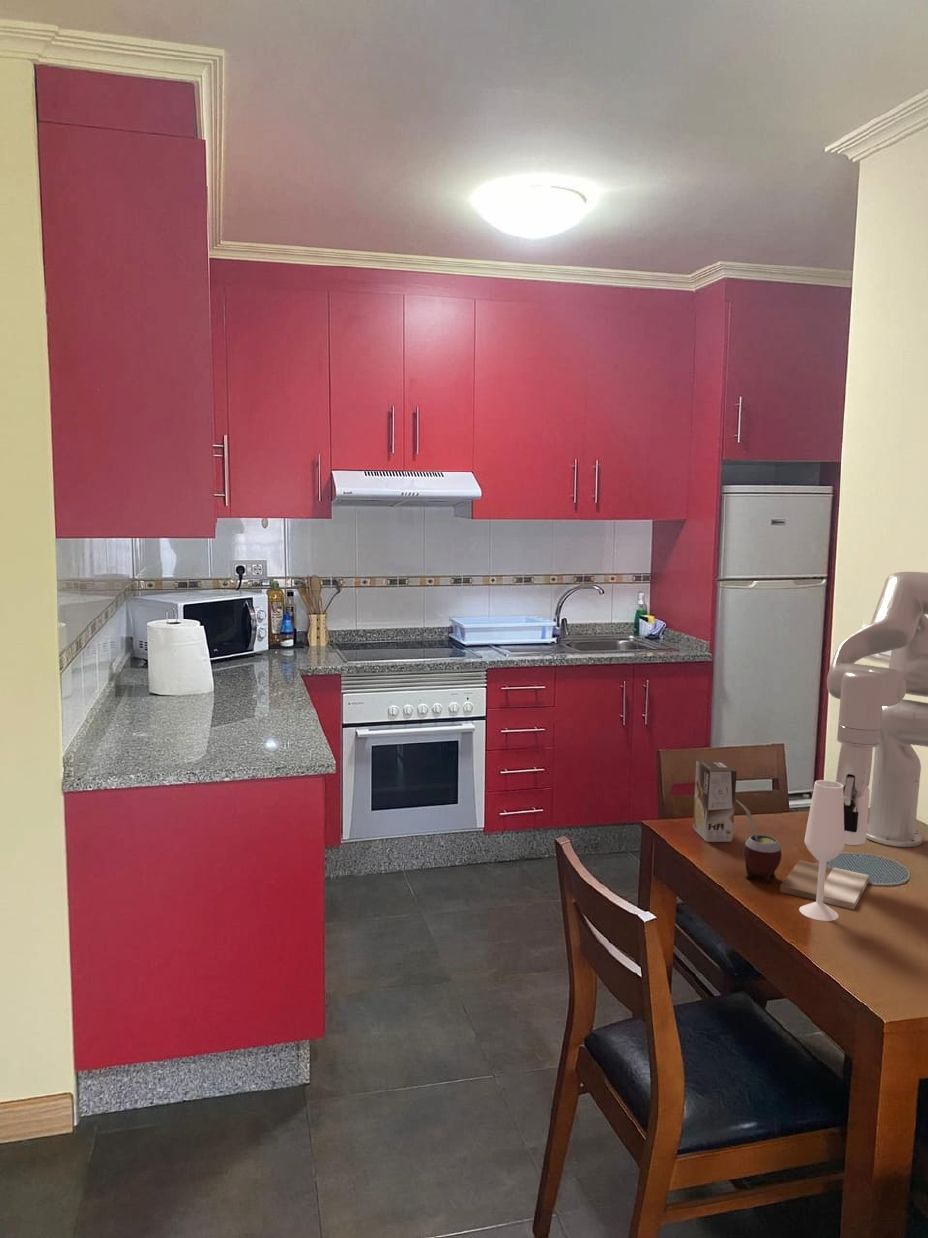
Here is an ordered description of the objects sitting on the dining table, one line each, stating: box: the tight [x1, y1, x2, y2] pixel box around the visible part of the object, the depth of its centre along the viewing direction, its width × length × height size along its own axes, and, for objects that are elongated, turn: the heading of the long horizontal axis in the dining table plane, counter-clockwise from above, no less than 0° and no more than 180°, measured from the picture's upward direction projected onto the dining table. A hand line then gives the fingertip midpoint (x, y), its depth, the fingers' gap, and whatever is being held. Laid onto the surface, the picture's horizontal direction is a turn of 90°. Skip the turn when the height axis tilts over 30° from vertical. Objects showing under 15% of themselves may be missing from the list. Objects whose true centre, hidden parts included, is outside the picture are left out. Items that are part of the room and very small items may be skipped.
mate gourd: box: [735, 799, 782, 886], centre depth 178 cm, size 8×8×15 cm
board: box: [779, 859, 870, 910], centre depth 175 cm, size 16×13×1 cm
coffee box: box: [692, 759, 738, 843], centre depth 201 cm, size 9×6×16 cm
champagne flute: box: [798, 779, 845, 922], centre depth 162 cm, size 7×7×24 cm
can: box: [843, 783, 870, 847], centre depth 175 cm, size 6×6×12 cm
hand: (850, 825), depth 176 cm, fingers closed on can, 6 cm apart
